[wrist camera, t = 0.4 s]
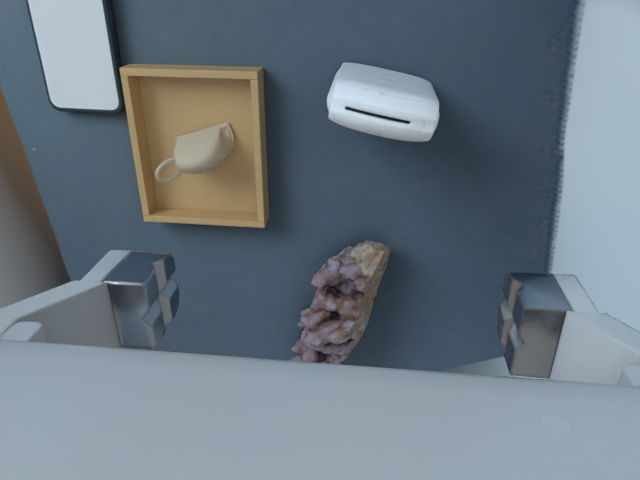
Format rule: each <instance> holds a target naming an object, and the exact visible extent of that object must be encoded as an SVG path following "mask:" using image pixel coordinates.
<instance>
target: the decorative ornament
mask: <svg viewBox="0 0 640 480" xmlns="http://www.w3.org/2000/svg"><path fill="white" fill-rule="evenodd" d="M175 142H176V145H175V148H174V157H171V158H168V159H167V160H165V161H163V162H162V163H161V164H160V165H159V166H158V167H157V169H156V172H155V177H156V179H157V180H158V181H160V182H169V181H172V180H174V179H176V178H177V177H178V176H180V175H181V174H182V172H184V173H190V174H196V173H197V174H202V173H203V172H209V169H214V168H215V167H216V166H219V165H220V162H223V161H224V159H225V157H227V155H229V154H230V153H231V150H232V149H233V148H234V137H233V133H232V130H231V127H230V125H229V123H228V122H226V123H222V124H219V125H215V126H212V127H209V128H205V129H202V130H199V131H196V132H193V133H189V134H185V135H181V136H178V137H176V138H175ZM171 163H175V164H176V166H177V167H178V170H177V171H176V172H175V173H174V174H172V175H171V176H169V177H165V178H163V177H161V176H160V172H161V170H162V169H163V168H164V167H165V166H167V165H169V164H171Z"/></svg>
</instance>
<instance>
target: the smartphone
mask: <svg viewBox="0 0 640 480" xmlns="http://www.w3.org/2000/svg"><path fill="white" fill-rule="evenodd" d="M26 3H27V7H28V12H29V16H30V20H31V25H32V29H33V34H34V38H35V42H36V47H37V51H38V55H39V60H40V64H41V69H42V73H43V77H44V82H45V86H46V90H47V95H48V99H49V102H50V104H51V105H52V106H53V107H54V108H55V109H57V110H59V111H69V112H89V113H109V114H116V113H119V112H120V111H122V110H123V109H124V108H125V107H126V106H125V100H124V94H123V88H122V82H121V75H120V70H119V68H121V63H120V57H119V51H118V44H117V38H116V32H115V26H114V19H113V13H112V7H111V0H26Z"/></svg>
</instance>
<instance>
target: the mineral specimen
mask: <svg viewBox="0 0 640 480" xmlns="http://www.w3.org/2000/svg"><path fill="white" fill-rule="evenodd" d="M390 252H391V249H390V246H389V245H384V244H382V243H377V242H373V241H368V240H366V241H365V242H363V243H359V244H358V245H356V246H355V248H353V247H351V246H349V247H347V248H345V249H343V250H342V251H341V253H340V254H338V255H337V256H333V257H331V258H329V259H328V261H327V262H326V263H325V264H324V265H323V266H322V268H321V269H320V270H319V271H318V272H317V273H315V275H314V277H313V280H312V283H311V284H312V285H314V286H315V287H318V288H317V290H316V292H315V296H314V299H313V301H312V304H311V307H310V308H308V309H305V310H303V311H302V312H301V316H302V317H301V318H300V320H301V321H300V322H298V323H297V324H298V326H299V327H301V328H303V329H304V331H302V334H301V339H300V340H298V341H297V343H296V344H295V345H294V347H292V348H291V351H292V352H294V353H297V354H298V355H296V356H294V357H293V358H292V359H291V360H290V361H300V362H313V363H326V362H327V364H340V363H341V362H342V361H343V360H345V359H346V358H347V357H348V356H349V355H350V353H351V351H352V350H353V348H354V347H355V346H356V345H357V343H358V342H359V340H360V338H361V336H362V334H363V333H364V331H365V329H366V326H367V323H368V320H369V317H370V314H371V310H372V306H373V300H374V298H375V296H376V295H377V289H378V287H379V284H380V282H381V279H382V276H383V274H384V271H385V270H386V267H387V264H388V260H389V256H390Z"/></svg>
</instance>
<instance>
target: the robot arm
mask: <svg viewBox="0 0 640 480" xmlns="http://www.w3.org/2000/svg"><path fill="white" fill-rule="evenodd" d="M175 270H176V269H175V263H174V258H173V257H172V255H171V254H167V253H153V252H140V251H131V250H110V251H109V252H108V253H107V254H106V255H105V256H104V257H103V258H102V259H101V260H100V261H99V262H98V263H97V264H96V265H95V266H94V267H93V268H92V269H91V270H90V271H89V272H88V273H87V274H86V275H85V276H84V277H83V278H82V279H81V280H80V281H72V282H69V283H66V284H64V285H61V286H59V287H56V288H53V289H51V290H48V291H45V292H43V293H40V294H38V295H36V296H32V297H30V298H27V299H25V300H22V301H19V302H17V303H14V304H12V305H9V306H6V307H4V308H1V309H0V480H640V332H639V331H638V330H636V329H634V328H632V327H630V326H629V325H627V324H625V323H623V322H621V321H619V320H617V319H616V318H614V317H612V316H610V315H608V314H607V313H599V312H598V310H597V308H596V307H595V305H594V304H593V302H592V301H591V299H590V297H589V296H588V294H587V293H586V291H585V289H584V288H583V286H582V285H581V283H580V282H579V280H578V278H577V277H576V276H574V275H565V274H564V275H563V274H562V275H561V274H536V273H507V274H506V276H505V279H504V283H503V288H502V289H503V292H504V295H505V297H506V299H505V300H504V301H503V302H502V303H501V304H500V305H499V311H498V321H497V329H498V336H499V340H500V343H501V344H502V345H504V346H505V347H506V349H505V354H504V357H505V360H506V363H507V366H508V369H509V372H510V375H516V376H526V377H537V378H546V379H549V380H544V379H530V378H517V377H503V376H489V375H476V374H461V373H449V372H435V371H422V370H408V369H395V368H381V367H367V366H354V365H340V364H327V363H313V362H300V361H287V360H273V359H260V358H246V357H233V356H219V355H206V354H192V353H179V352H165V351H152V350H138V349H125V348H121V347H127V348H149V349H155V348H156V346H157V345H158V343H159V341H160V340H161V338H162V337H163V335H164V333H165V326H164V325H165V324H167V323H169V322H171V321H172V320H173V318H174V316H175V315H176V312H177V308H178V304H179V289H178V285H177V283H176V282H175V281H174V280H173V279H172V278H171V276H172V274H173V273H174V271H175Z"/></svg>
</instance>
